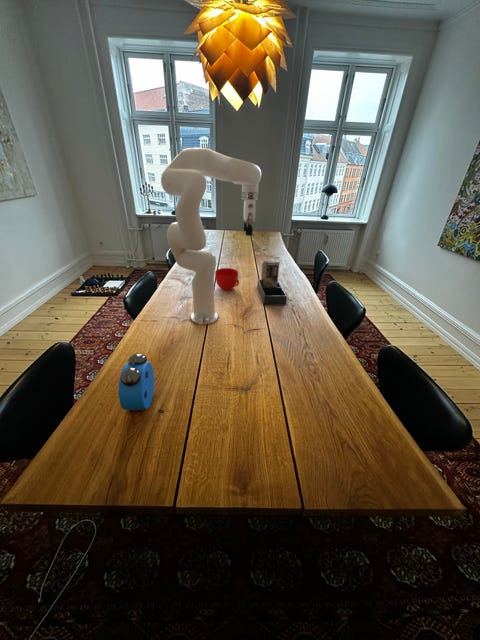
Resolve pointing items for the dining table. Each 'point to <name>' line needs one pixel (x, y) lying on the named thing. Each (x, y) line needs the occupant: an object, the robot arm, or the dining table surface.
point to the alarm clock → (136, 383)
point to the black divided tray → (272, 294)
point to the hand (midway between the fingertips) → (247, 233)
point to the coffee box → (270, 274)
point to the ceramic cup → (226, 278)
